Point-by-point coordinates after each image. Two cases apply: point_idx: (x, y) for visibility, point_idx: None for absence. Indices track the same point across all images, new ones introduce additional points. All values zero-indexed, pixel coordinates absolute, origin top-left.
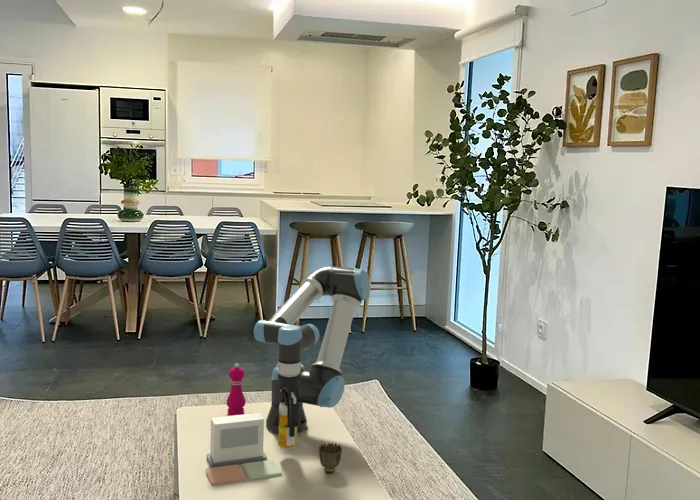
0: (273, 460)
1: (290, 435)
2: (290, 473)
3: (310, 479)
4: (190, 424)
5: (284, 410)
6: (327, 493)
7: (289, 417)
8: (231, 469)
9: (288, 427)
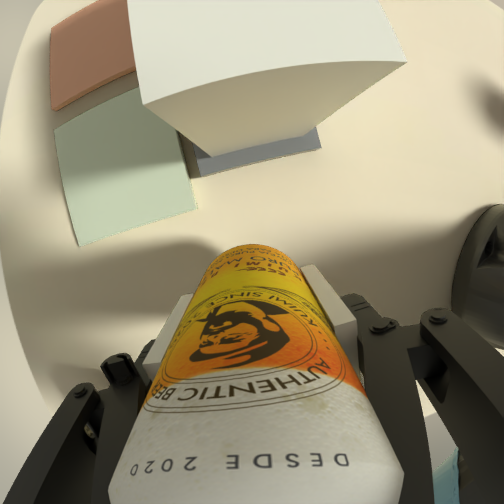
0: (185, 209)
1: (145, 347)
2: (99, 275)
3: (74, 333)
4: (481, 6)
5: (114, 472)
6: (27, 354)
7: (105, 440)
8: (118, 48)
9: (148, 368)
